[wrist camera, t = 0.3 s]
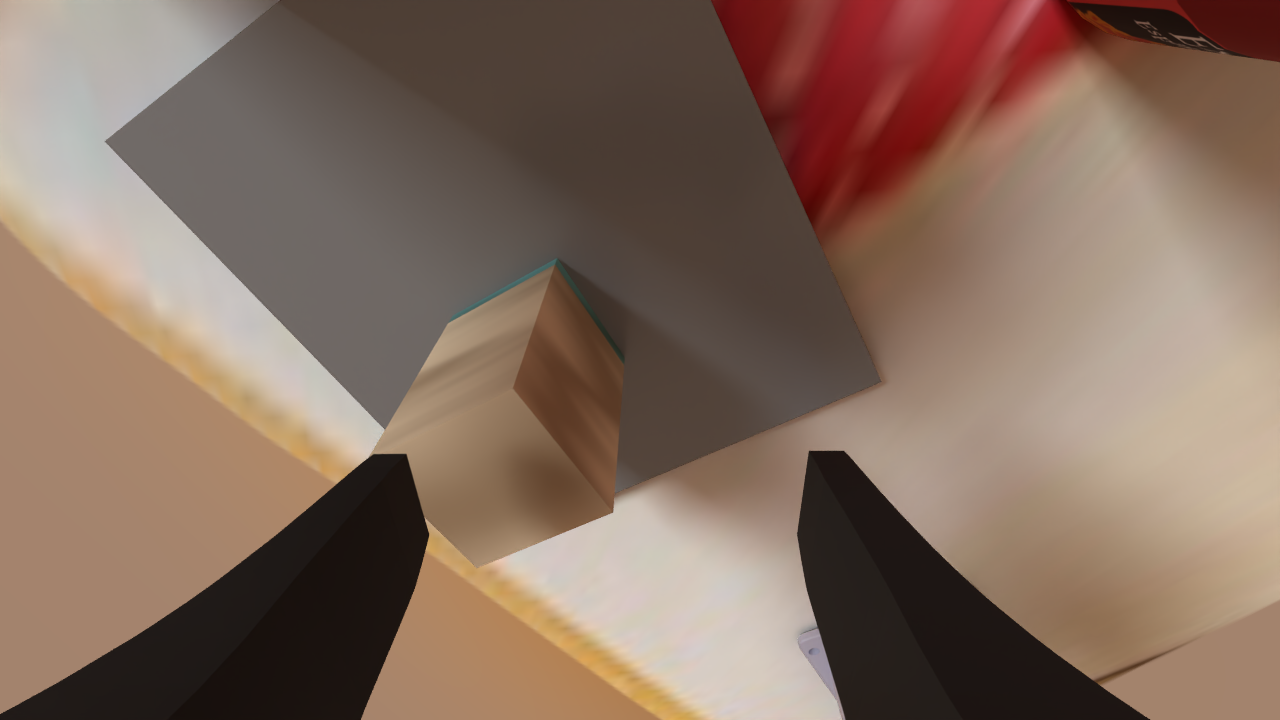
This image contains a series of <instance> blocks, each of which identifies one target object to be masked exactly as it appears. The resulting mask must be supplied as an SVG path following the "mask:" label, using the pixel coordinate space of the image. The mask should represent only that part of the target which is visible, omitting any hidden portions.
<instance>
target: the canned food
mask: <svg viewBox="0 0 1280 720" xmlns="http://www.w3.org/2000/svg"><path fill="white" fill-rule="evenodd" d="M1066 1H1067V2H1068V3H1069V4H1070V6H1071V7H1072V8H1073V9H1074V10H1075V11H1076V12H1077V13H1078V14H1079V15H1080V16H1081V17H1082V18H1083V19H1085V20H1087V21H1088V22H1090V23H1091V24H1093V25H1094V26H1096V27H1098V28H1099V29H1101V30H1102V31H1104V32H1105V33H1109V34H1112V35H1115V36H1119V37H1122V38H1126V39H1129V40H1132V41H1139V42H1146V43H1153V44H1160V45H1167V46H1174V47H1180V48H1187V49H1194V50H1201V51H1208V52H1215V53H1222V54H1229V55H1235V56H1242V57H1249V58H1256V59H1263V60H1270V61H1277V62H1280V0H1066Z"/></svg>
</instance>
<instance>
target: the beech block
mask: <svg viewBox="0 0 1280 720" xmlns="http://www.w3.org/2000/svg"><path fill="white" fill-rule="evenodd" d="M624 362H625V357H624V355H623V354H622V353H621V351H620V350H619V348H618V347H617V345H616V344H615V342H614V341H613V339H612V338H611V336H610V335H609V333H608V332H607V330H606V329H605V327H604V326H603V325H602V323H601V322H600V320H599V319H598V317H597V316H596V314H595V313H594V311H593V310H592V308H591V307H590V305H589V304H588V302H587V301H586V300H585V298H584V297H583V295H582V294H581V292H580V291H579V289H578V288H577V286H576V285H575V283H574V282H573V280H572V279H571V277H570V276H569V275H568V273H567V272H566V270H565V269H564V267H563V266H562V264H561V263H560V261H559V260H558V258H556V259H554V260H553V261H551V262H549V263H547V264H545V265H544V266H542V267H540V268H538V269H536V270H535V271H533V272H531V273H529V274H527V275H525V276H524V277H522V278H520V279H518V280H516V281H515V282H513V283H511V284H509V285H507V286H506V287H504V288H502V289H500V290H498V291H497V292H495V293H493V294H491V295H489V296H488V297H486V298H484V299H482V300H480V301H478V302H477V303H475V304H473V305H471V306H469V307H468V308H466V309H464V310H462V311H460V312H459V313H457V314H455V315H453V316H452V318H451V319H450V321H449V323H448V324H447V326H446V328H445V329H444V331H443V333H442V335H441V336H440V338H439V340H438V341H437V343H436V345H435V346H434V348H433V350H432V351H431V353H430V355H429V357H428V358H427V360H426V362H425V363H424V365H423V367H422V368H421V370H420V372H419V373H418V375H417V377H416V379H415V380H414V382H413V384H412V385H411V387H410V389H409V390H408V392H407V394H406V395H405V397H404V399H403V401H402V402H401V404H400V406H399V407H398V409H397V411H396V412H395V414H394V416H393V418H392V419H391V421H390V423H389V424H388V426H387V428H386V429H385V431H384V433H383V434H382V436H381V438H380V440H379V441H378V443H377V445H376V446H375V448H374V450H373V451H372V453H371V455H370V456H372V455H373V454H407V457H408V461H409V464H410V468H411V471H412V475H413V479H414V482H415V486H416V489H417V493H418V497H419V500H420V504H421V507H422V511H423V514H424V517H425V518H426V519H427V520H428V521H429V522H430V523H431V524H432V525H433V526H434V527H435V528H436V529H437V530H438V531H439V532H440V533H441V534H442V535H443V536H444V537H446V538H447V539H448V540H449V541H450V542H451V543H452V544H453V545H454V546H455V547H456V548H457V549H458V550H459V551H460V552H461V553H462V554H463V555H464V556H465V557H466V558H467V559H468V560H469V561H470V562H471V563H472V564H473V565H474V566H475V567H476V568H478V567H481V566H483V565H486V564H488V563H491V562H493V561H495V560H498V559H500V558H503V557H505V556H508V555H510V554H513V553H515V552H517V551H520V550H522V549H525V548H527V547H530V546H532V545H535V544H537V543H539V542H542V541H544V540H547V539H549V538H552V537H554V536H557V535H559V534H561V533H564V532H566V531H569V530H571V529H574V528H576V527H579V526H581V525H584V524H586V523H588V522H591V521H593V520H596V519H598V518H601V517H603V516H606V515H608V514H610V513H613V508H614V494H615V481H616V468H617V455H618V441H619V428H620V415H621V402H622V388H623V375H624ZM370 456H369V457H370Z"/></svg>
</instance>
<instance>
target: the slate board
mask: <svg viewBox="0 0 1280 720" xmlns="http://www.w3.org/2000/svg"><path fill="white" fill-rule="evenodd" d="M105 142H106V143H107V144H108V145H109V146H110V147H111V148H112V149H113V150H114V151H115V153H116V154H117V155H118V156H119V157H120V158H121V159H122V160H123V161H124V162H125V163H126V164H127V165H128V166H129V167H130V168H131V169H132V170H133V171H134V172H135V173H136V174H137V175H138V176H139V177H140V178H141V179H142V180H143V181H144V182H145V183H146V184H147V185H148V186H149V187H150V188H151V190H152V191H153V192H154V193H155V194H156V195H157V196H158V197H159V198H160V199H161V200H162V201H163V202H164V203H165V204H166V205H167V206H168V207H169V208H170V209H171V210H172V211H173V212H174V213H175V214H176V215H177V216H178V217H179V218H180V219H181V220H182V221H183V222H184V223H185V224H186V226H187V227H188V228H189V229H190V230H191V231H192V232H193V233H194V234H195V235H196V236H197V237H198V238H199V239H200V240H201V241H202V242H203V243H204V244H205V245H206V246H207V247H208V248H209V249H210V250H211V251H212V252H213V253H214V254H215V255H216V256H217V257H218V258H219V259H220V260H221V262H222V263H223V264H224V265H225V266H226V267H227V268H228V269H229V270H230V271H231V272H232V273H233V274H234V275H235V276H236V277H237V278H238V279H239V280H240V281H241V282H242V283H243V284H244V285H245V286H246V287H247V288H248V289H249V290H250V291H251V292H252V293H253V294H254V295H255V296H256V297H257V299H258V300H259V301H260V302H261V303H262V304H263V305H264V306H265V307H266V308H267V309H268V310H269V311H270V312H271V313H272V314H273V315H274V316H275V317H276V318H277V319H278V320H279V321H280V322H281V323H282V324H283V325H284V326H285V327H286V328H287V329H288V330H289V331H290V332H291V333H292V335H293V336H294V337H295V338H296V339H297V340H298V341H299V342H300V343H301V344H302V345H303V346H304V347H305V348H306V349H307V350H308V351H309V352H310V353H311V354H312V355H313V356H314V357H315V358H316V359H317V360H318V361H319V362H320V363H321V364H322V365H323V366H324V367H325V368H326V369H327V371H328V372H329V373H330V374H331V375H332V376H333V377H334V378H335V379H336V380H337V381H338V382H339V383H340V384H341V385H342V386H343V387H344V388H345V389H346V390H347V391H348V392H349V393H350V394H351V395H352V396H353V397H354V398H355V399H356V400H357V401H358V402H359V403H360V404H361V405H362V407H363V408H364V409H365V410H366V411H367V412H368V413H369V414H370V415H371V416H372V417H373V418H374V419H375V420H376V421H377V422H378V423H379V424H380V425H381V426H382V427H383V428H384V429H386V428H387V426H388V424H389V423H390V421H391V419H392V418H393V416H394V414H395V412H396V411H397V409H398V407H399V406H400V404H401V402H402V401H403V399H404V397H405V395H406V394H407V392H408V390H409V389H410V387H411V385H412V384H413V382H414V380H415V379H416V377H417V375H418V373H419V372H420V370H421V368H422V367H423V365H424V363H425V362H426V360H427V358H428V357H429V355H430V353H431V351H432V350H433V348H434V346H435V345H436V343H437V341H438V340H439V338H440V336H441V335H442V333H443V331H444V329H445V328H446V326H447V324H448V323H449V321H450V319H451V318H452V316H453V315H455V314H457V313H459V312H460V311H462V310H464V309H466V308H468V307H469V306H471V305H473V304H475V303H477V302H478V301H480V300H482V299H484V298H486V297H488V296H489V295H491V294H493V293H495V292H497V291H498V290H500V289H502V288H504V287H506V286H507V285H509V284H511V283H513V282H515V281H516V280H518V279H520V278H522V277H524V276H525V275H527V274H529V273H531V272H533V271H535V270H536V269H538V268H540V267H542V266H544V265H545V264H547V263H549V262H551V261H553V260H554V259H556V258H558V260H559V261H560V263H561V264H562V266H563V267H564V269H565V270H566V272H567V273H568V275H569V276H570V277H571V279H572V280H573V282H574V283H575V285H576V286H577V288H578V289H579V291H580V292H581V294H582V295H583V297H584V298H585V300H586V301H587V302H588V304H589V305H590V307H591V308H592V310H593V311H594V313H595V314H596V316H597V317H598V319H599V320H600V322H601V323H602V325H603V326H604V327H605V329H606V330H607V332H608V333H609V335H610V336H611V338H612V339H613V341H614V342H615V344H616V345H617V347H618V348H619V350H620V351H621V353H622V354H623V355H624V357H625V362H624V375H623V388H622V402H621V415H620V428H619V441H618V455H617V468H616V481H615V493H617V492H619V491H622V490H624V489H627V488H629V487H631V486H634V485H636V484H639V483H641V482H643V481H646V480H648V479H650V478H653V477H655V476H658V475H660V474H662V473H665V472H667V471H670V470H672V469H674V468H677V467H679V466H682V465H684V464H686V463H689V462H691V461H694V460H696V459H698V458H701V457H703V456H706V455H708V454H710V453H713V452H715V451H717V450H720V449H722V448H725V447H727V446H729V445H732V444H734V443H737V442H739V441H741V440H744V439H746V438H749V437H751V436H753V435H756V434H758V433H761V432H763V431H765V430H768V429H770V428H772V427H775V426H777V425H780V424H782V423H784V422H787V421H789V420H792V419H794V418H796V417H799V416H801V415H804V414H806V413H808V412H811V411H813V410H816V409H818V408H820V407H823V406H825V405H828V404H830V403H832V402H835V401H837V400H839V399H842V398H844V397H847V396H849V395H851V394H854V393H856V392H859V391H861V390H863V389H866V388H868V387H871V386H873V385H875V384H878V383H880V382H881V379H880V377H879V375H878V373H877V371H876V368H875V366H874V364H873V362H872V359H871V357H870V355H869V353H868V350H867V348H866V346H865V344H864V341H863V339H862V337H861V335H860V333H859V330H858V328H857V326H856V324H855V321H854V319H853V317H852V315H851V312H850V310H849V308H848V306H847V303H846V301H845V299H844V297H843V295H842V292H841V290H840V288H839V286H838V283H837V281H836V279H835V277H834V274H833V272H832V270H831V268H830V265H829V263H828V261H827V259H826V257H825V254H824V252H823V250H822V248H821V245H820V243H819V241H818V239H817V236H816V234H815V232H814V230H813V227H812V225H811V223H810V221H809V219H808V216H807V214H806V212H805V210H804V207H803V205H802V203H801V201H800V198H799V196H798V194H797V192H796V189H795V187H794V185H793V183H792V181H791V178H790V176H789V174H788V172H787V169H786V167H785V165H784V163H783V160H782V158H781V156H780V154H779V151H778V149H777V147H776V145H775V143H774V140H773V138H772V136H771V134H770V131H769V129H768V127H767V125H766V122H765V120H764V118H763V116H762V114H761V111H760V109H759V107H758V105H757V102H756V100H755V98H754V96H753V93H752V91H751V89H750V87H749V84H748V82H747V80H746V78H745V76H744V73H743V71H742V69H741V67H740V64H739V62H738V60H737V58H736V55H735V53H734V51H733V49H732V46H731V44H730V42H729V40H728V38H727V35H726V33H725V31H724V29H723V26H722V24H721V22H720V20H719V17H718V15H717V13H716V11H715V8H714V6H713V4H712V2H711V0H280V1H279V2H278V3H276V4H275V5H274V6H273V7H271V8H270V9H269V10H268V11H266V12H265V13H264V14H263V15H261V16H260V17H259V18H258V19H257V20H255V21H254V22H253V23H252V24H250V25H249V26H248V27H247V28H245V29H244V30H243V31H242V32H240V33H239V34H238V35H237V36H235V37H234V38H233V39H232V40H230V41H229V42H228V43H227V44H225V45H224V46H223V47H222V48H220V49H219V50H218V51H217V52H215V53H214V54H213V55H212V56H210V57H209V58H208V59H207V60H205V61H204V62H203V63H202V64H200V65H199V66H198V67H197V68H195V69H194V70H193V71H192V72H191V73H189V74H188V75H187V76H186V77H184V78H183V79H182V80H181V81H179V82H178V83H177V84H176V85H174V86H173V87H172V88H171V89H169V90H168V91H167V92H166V93H164V94H163V95H162V96H161V97H159V98H158V99H157V100H156V101H154V102H153V103H152V104H151V105H149V106H148V107H147V108H146V109H144V110H143V111H142V112H141V113H139V114H138V115H137V116H136V117H134V118H133V119H132V120H131V121H130V122H128V123H127V124H126V125H125V126H123V127H122V128H121V129H120V130H118V131H117V132H116V133H115V134H113V135H112V136H111V137H110V138H108V139H107V140H106V141H105Z"/></svg>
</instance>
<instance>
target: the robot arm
mask: <svg viewBox="0 0 1280 720" xmlns="http://www.w3.org/2000/svg"><path fill="white" fill-rule="evenodd" d="M797 536H798V542H799V548H800V554H801V561H802V566H803V572H804V577H805V583H806V588H807V592H808V595H809V599H810V602H811V606H812V609H813V612H814V616H815V619H816V622H817V626H818V628H817V629H814V630H811V631H808V632H805V633H803V634H801V635H800V636H799V637H798V639H797V640H798V644H799V648H800V649H801V651H802V652H803V654H804V655H805V656H806V658H807V659H808V661H809V662H810V663H811V665H812V666H813V668H814V669H815V670H816V672H817V673H818V675H819V676H820V678H821V679H822V680H823V682H824V683H825V685H826V686H827V687H828V689H829V690H830V692H831V693H832V694H833V696H834V697H835V699H836V700H837V702H838V706H839V709H840V713H841V717H842V720H1150V719H1148V718H1147V717H1145V716H1144V715H1142V714H1141V713H1139V712H1137V711H1136V710H1135V709H1133V708H1132V707H1130V706H1129V705H1127V704H1126V703H1124V702H1123V701H1121V700H1120V699H1118V698H1117V697H1115V696H1114V695H1113V694H1111V693H1110V692H1108V691H1107V690H1105V689H1104V688H1103V687H1101V686H1100V685H1098V684H1097V683H1096V682H1094V681H1093V680H1091V679H1090V678H1089V677H1087V676H1086V675H1085V674H1083V673H1082V672H1080V671H1079V670H1078V669H1076V668H1075V667H1073V666H1072V665H1071V664H1069V663H1068V662H1067V661H1065V660H1064V659H1062V658H1061V657H1060V656H1058V655H1057V654H1056V653H1054V652H1053V651H1052V650H1050V649H1049V648H1048V647H1046V646H1045V645H1044V644H1043V643H1041V642H1040V641H1039V640H1037V639H1036V638H1035V637H1034V636H1032V635H1031V634H1030V633H1029V632H1027V631H1026V630H1025V629H1024V628H1022V627H1021V626H1020V625H1019V624H1018V623H1016V622H1015V621H1014V620H1013V619H1011V618H1010V617H1009V616H1008V615H1007V614H1005V613H1004V612H1003V611H1002V610H1000V609H999V608H998V607H997V606H996V605H994V604H993V603H992V602H991V601H990V600H989V599H987V598H986V597H985V596H984V595H983V594H982V593H981V592H979V591H978V590H977V589H976V588H975V587H974V586H973V585H972V584H970V583H969V582H968V581H967V580H966V579H965V578H964V577H963V576H962V575H961V574H960V573H959V572H958V571H957V570H956V569H955V568H953V567H952V566H951V565H950V564H949V563H948V562H947V561H946V560H945V559H944V558H943V557H942V556H941V555H940V554H939V553H938V552H937V551H936V550H935V549H934V548H933V547H932V546H931V545H930V544H929V543H928V542H927V541H926V540H925V539H924V538H923V537H922V536H921V535H920V534H919V533H918V532H917V531H916V530H915V529H914V527H913V526H912V525H911V524H910V523H909V522H908V521H907V520H906V519H905V518H904V517H903V516H902V515H901V514H900V513H899V512H898V511H897V510H896V508H895V507H894V506H893V505H892V504H891V503H890V502H889V501H888V500H887V498H886V497H885V496H884V495H883V494H882V493H881V492H880V491H879V490H878V488H877V487H876V486H875V485H874V484H873V483H872V482H871V481H870V479H869V478H868V477H867V476H866V475H865V474H864V473H863V471H862V470H861V469H860V468H859V467H858V466H857V464H856V463H855V462H854V461H853V460H852V459H851V458H850V457H849V456H848V454H847V453H846V452H845V451H809V454H808V461H807V468H806V475H805V483H804V490H803V497H802V504H801V511H800V518H799V525H798V532H797ZM428 538H429V532H428V529H427V525H426V522H425V518H424V514H423V511H422V507H421V504H420V500H419V497H418V493H417V489H416V486H415V482H414V479H413V475H412V471H411V468H410V464H409V461H408V457H407V454H373V455H372V456H370V457H369V458H368V459H366V460H365V461H364V462H363V463H361V464H360V465H359V466H358V467H356V468H355V469H354V470H353V471H352V472H351V473H349V474H348V475H347V476H346V477H345V478H343V479H342V480H341V481H340V482H339V483H338V484H336V485H335V486H334V487H333V488H332V489H331V490H329V491H328V492H327V493H326V494H325V495H324V496H322V497H321V498H320V499H319V500H318V501H316V502H315V503H314V504H313V505H312V506H311V507H309V508H308V509H307V510H306V511H305V512H303V513H302V514H301V515H300V516H299V517H297V518H296V519H295V520H294V521H293V522H292V523H290V524H289V525H288V526H287V527H285V528H284V529H283V530H282V531H281V532H279V533H278V534H277V535H276V536H274V537H273V538H272V539H271V540H269V541H268V542H267V543H265V544H264V545H263V546H262V547H260V548H259V549H258V550H256V551H255V552H254V553H252V554H251V555H250V556H249V557H247V558H246V559H245V560H243V561H242V562H241V563H240V564H238V565H237V566H236V567H234V568H233V569H232V570H230V571H229V572H228V573H227V574H225V575H224V576H223V577H221V578H220V579H219V580H217V581H216V582H215V583H213V584H212V585H211V586H209V587H208V588H206V589H205V590H204V591H202V592H201V593H199V594H198V595H196V596H195V597H194V598H192V599H191V600H189V601H188V602H187V603H185V604H184V605H182V606H181V607H179V608H178V609H176V610H175V611H173V612H172V613H170V614H169V615H167V616H166V617H164V618H163V619H161V620H160V621H158V622H157V623H155V624H154V625H152V626H151V627H149V628H148V629H146V630H144V631H143V632H141V633H140V634H138V635H137V636H135V637H133V638H132V639H130V640H129V641H127V642H125V643H123V644H122V645H120V646H118V647H117V648H115V649H113V650H112V651H110V652H108V653H107V654H105V655H103V656H102V657H100V658H98V659H97V660H95V661H94V662H92V663H90V664H88V665H87V666H85V667H84V668H82V669H80V670H78V671H77V672H75V673H73V674H72V675H70V676H68V677H67V678H65V679H63V680H62V681H60V682H58V683H56V684H55V685H53V686H51V687H49V688H47V689H46V690H44V691H42V692H40V693H38V694H36V695H35V696H33V697H31V698H29V699H27V700H25V701H24V702H22V703H20V704H19V705H17V706H15V707H13V708H11V709H9V710H7V711H5V712H3V713H1V714H0V720H361V718H362V715H363V712H364V710H365V707H366V705H367V702H368V700H369V697H370V695H371V693H372V690H373V688H374V685H375V683H376V681H377V679H378V676H379V674H380V671H381V669H382V667H383V664H384V662H385V660H386V657H387V655H388V652H389V650H390V648H391V645H392V643H393V640H394V638H395V636H396V633H397V631H398V628H399V626H400V624H401V621H402V619H403V616H404V614H405V611H406V609H407V607H408V604H409V602H410V599H411V597H412V594H413V592H414V589H415V586H416V582H417V579H418V576H419V572H420V568H421V565H422V562H423V557H424V554H425V550H426V546H427V542H428Z"/></svg>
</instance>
